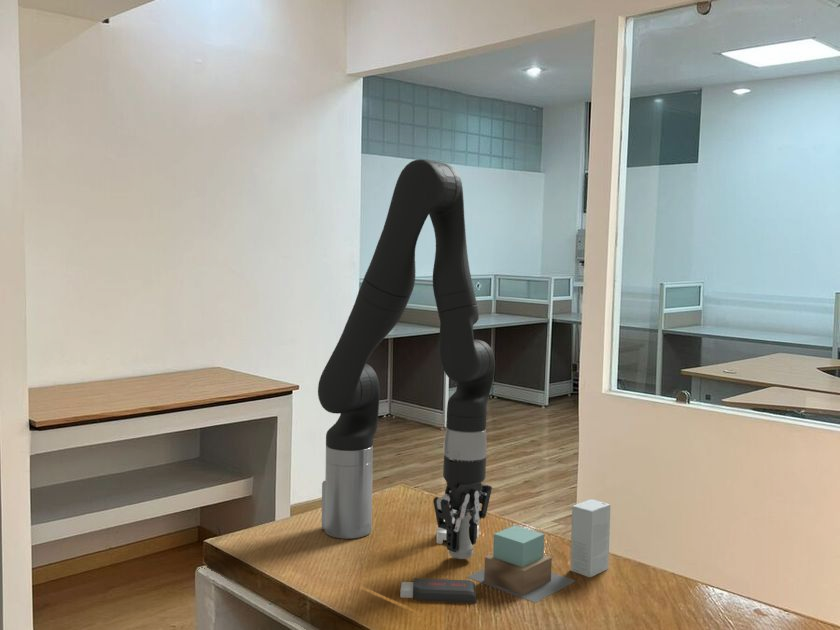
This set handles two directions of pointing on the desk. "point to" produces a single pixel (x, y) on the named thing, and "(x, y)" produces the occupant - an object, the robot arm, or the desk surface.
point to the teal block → (518, 546)
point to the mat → (534, 595)
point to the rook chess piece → (464, 539)
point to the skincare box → (590, 537)
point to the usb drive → (439, 590)
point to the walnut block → (518, 574)
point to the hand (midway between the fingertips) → (461, 546)
